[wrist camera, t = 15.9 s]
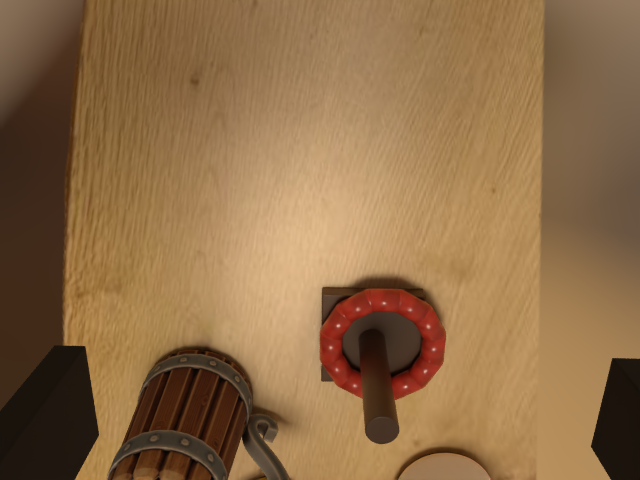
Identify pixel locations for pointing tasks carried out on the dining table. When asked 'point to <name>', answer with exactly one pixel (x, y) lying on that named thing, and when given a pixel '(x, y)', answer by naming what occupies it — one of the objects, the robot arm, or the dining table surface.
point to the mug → (194, 423)
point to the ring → (383, 302)
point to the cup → (444, 468)
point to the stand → (376, 358)
